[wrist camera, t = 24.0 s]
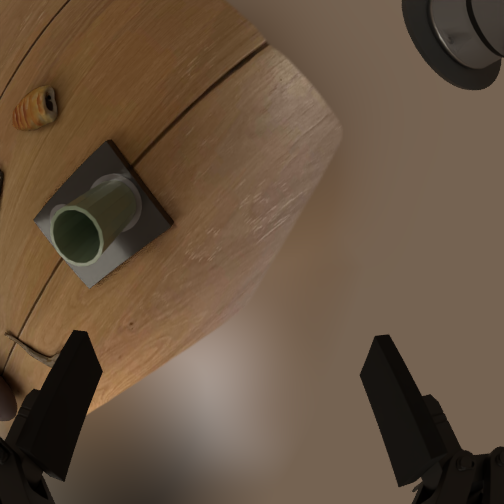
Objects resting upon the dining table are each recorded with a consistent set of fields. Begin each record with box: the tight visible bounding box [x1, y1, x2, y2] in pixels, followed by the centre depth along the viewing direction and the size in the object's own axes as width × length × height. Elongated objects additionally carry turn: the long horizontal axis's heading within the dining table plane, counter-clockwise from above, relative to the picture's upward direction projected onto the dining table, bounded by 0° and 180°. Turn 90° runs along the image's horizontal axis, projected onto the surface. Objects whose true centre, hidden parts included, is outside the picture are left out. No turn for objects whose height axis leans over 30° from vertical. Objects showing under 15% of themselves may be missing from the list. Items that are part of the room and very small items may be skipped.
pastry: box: [12, 85, 57, 131], centre depth 32 cm, size 9×7×4 cm
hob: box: [34, 140, 174, 289], centre depth 42 cm, size 20×16×2 cm
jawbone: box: [5, 332, 60, 368], centre depth 56 cm, size 9×20×2 cm, turn 82°
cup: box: [50, 180, 136, 266], centre depth 34 cm, size 7×7×12 cm
